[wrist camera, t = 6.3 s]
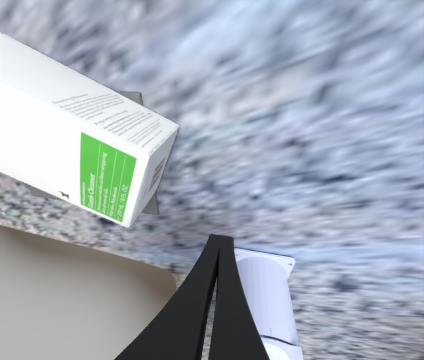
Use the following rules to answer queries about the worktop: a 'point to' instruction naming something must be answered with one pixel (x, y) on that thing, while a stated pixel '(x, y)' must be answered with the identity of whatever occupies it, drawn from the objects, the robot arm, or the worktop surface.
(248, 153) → the worktop surface
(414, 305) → the worktop surface
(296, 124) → the worktop surface
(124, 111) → the skincare box
